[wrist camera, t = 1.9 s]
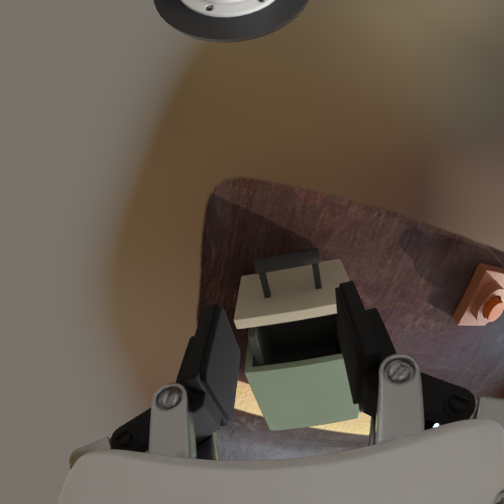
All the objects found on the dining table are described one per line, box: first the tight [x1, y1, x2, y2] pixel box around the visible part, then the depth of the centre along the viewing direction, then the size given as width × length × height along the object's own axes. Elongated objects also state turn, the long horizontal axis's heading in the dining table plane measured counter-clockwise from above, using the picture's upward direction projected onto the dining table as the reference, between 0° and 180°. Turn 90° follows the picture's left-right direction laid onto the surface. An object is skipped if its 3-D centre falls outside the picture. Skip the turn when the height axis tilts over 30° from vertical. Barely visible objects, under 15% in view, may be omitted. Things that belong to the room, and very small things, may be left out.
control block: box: [452, 263, 504, 325], centre depth 31 cm, size 10×8×4 cm
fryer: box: [245, 339, 359, 431], centre depth 34 cm, size 15×13×10 cm
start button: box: [483, 296, 504, 322], centre depth 28 cm, size 4×4×2 cm
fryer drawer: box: [234, 248, 349, 366], centre depth 30 cm, size 18×11×8 cm, turn 13°
